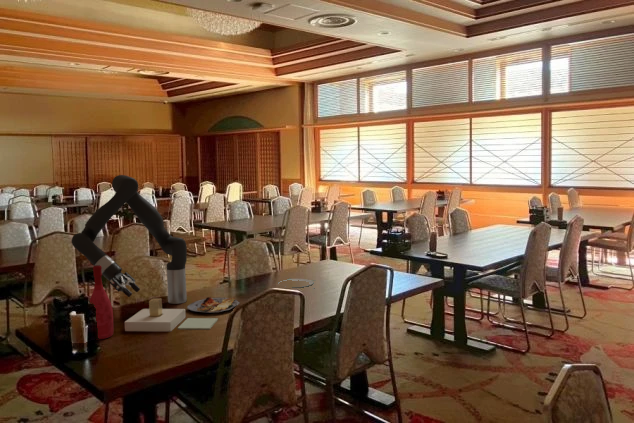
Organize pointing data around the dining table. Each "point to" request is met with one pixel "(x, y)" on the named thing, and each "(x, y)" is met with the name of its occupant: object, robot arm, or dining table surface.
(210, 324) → the green pad
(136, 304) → the dining table surface
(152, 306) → the tan rectangular block
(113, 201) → the robot arm
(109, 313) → the wine bottle
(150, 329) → the cover plate
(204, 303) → the food plate
